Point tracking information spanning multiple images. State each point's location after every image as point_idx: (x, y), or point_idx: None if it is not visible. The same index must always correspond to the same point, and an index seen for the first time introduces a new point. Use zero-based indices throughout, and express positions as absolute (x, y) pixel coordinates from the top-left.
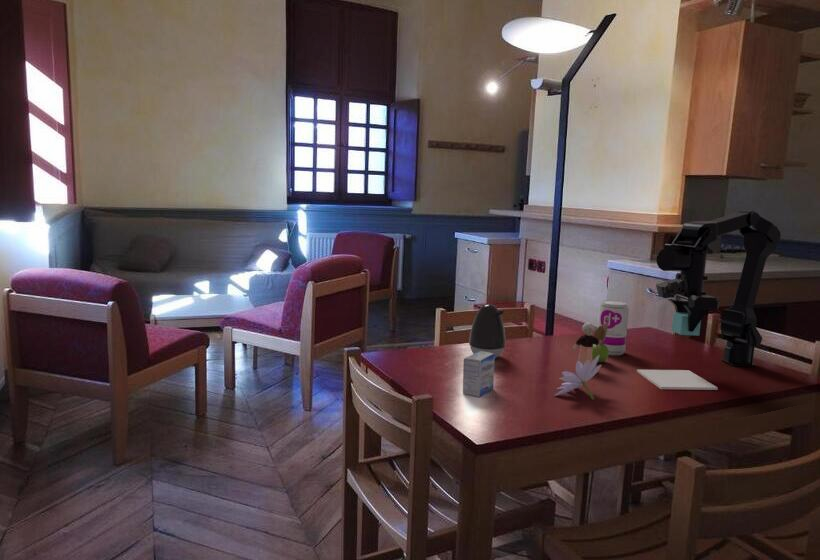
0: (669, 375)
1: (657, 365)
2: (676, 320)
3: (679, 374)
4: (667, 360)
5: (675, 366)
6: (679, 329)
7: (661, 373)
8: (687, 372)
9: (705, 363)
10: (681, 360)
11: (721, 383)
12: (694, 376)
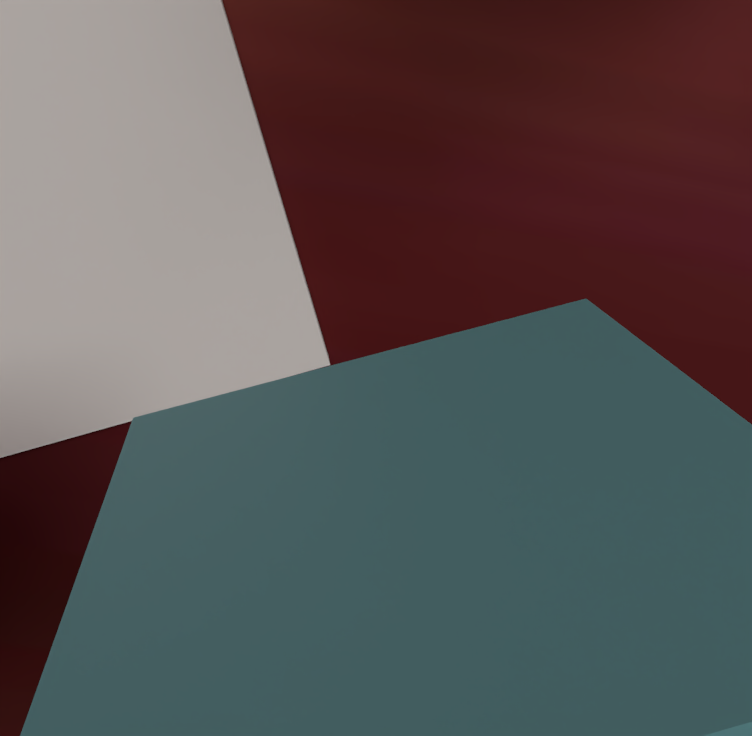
0: (17, 112)
1: (518, 73)
2: (475, 523)
3: (117, 239)
4: (734, 229)
5: (522, 269)
6: (195, 460)
7: (62, 24)
8: (238, 337)
9: None
10: (747, 366)
11: (65, 564)
12: (105, 378)
